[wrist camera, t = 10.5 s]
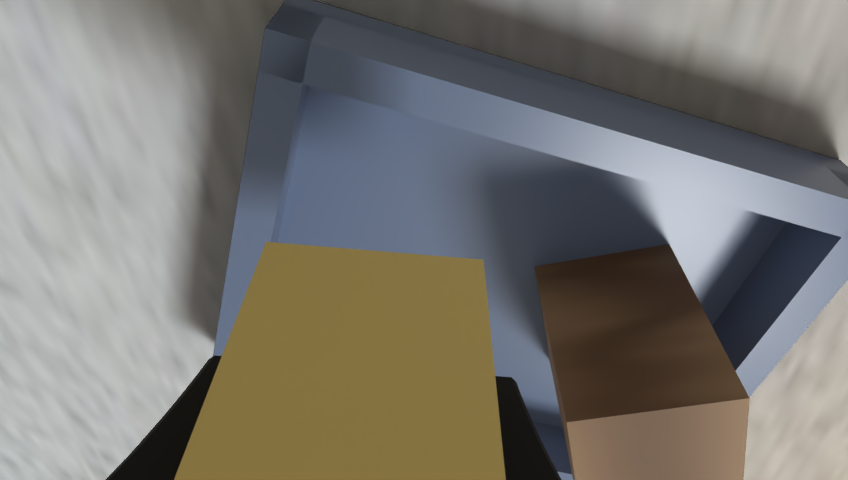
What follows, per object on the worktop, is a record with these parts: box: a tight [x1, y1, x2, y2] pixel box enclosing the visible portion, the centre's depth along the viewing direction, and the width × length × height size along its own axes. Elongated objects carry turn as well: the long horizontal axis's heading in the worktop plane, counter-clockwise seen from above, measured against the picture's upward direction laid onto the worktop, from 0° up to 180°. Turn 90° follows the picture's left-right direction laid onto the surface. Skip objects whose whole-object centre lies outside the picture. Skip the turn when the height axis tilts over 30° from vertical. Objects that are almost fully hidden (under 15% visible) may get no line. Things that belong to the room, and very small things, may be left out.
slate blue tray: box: [213, 0, 848, 480], centre depth 20 cm, size 16×13×3 cm
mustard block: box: [174, 242, 506, 480], centre depth 11 cm, size 4×4×6 cm
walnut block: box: [534, 244, 750, 480], centre depth 18 cm, size 4×4×6 cm
